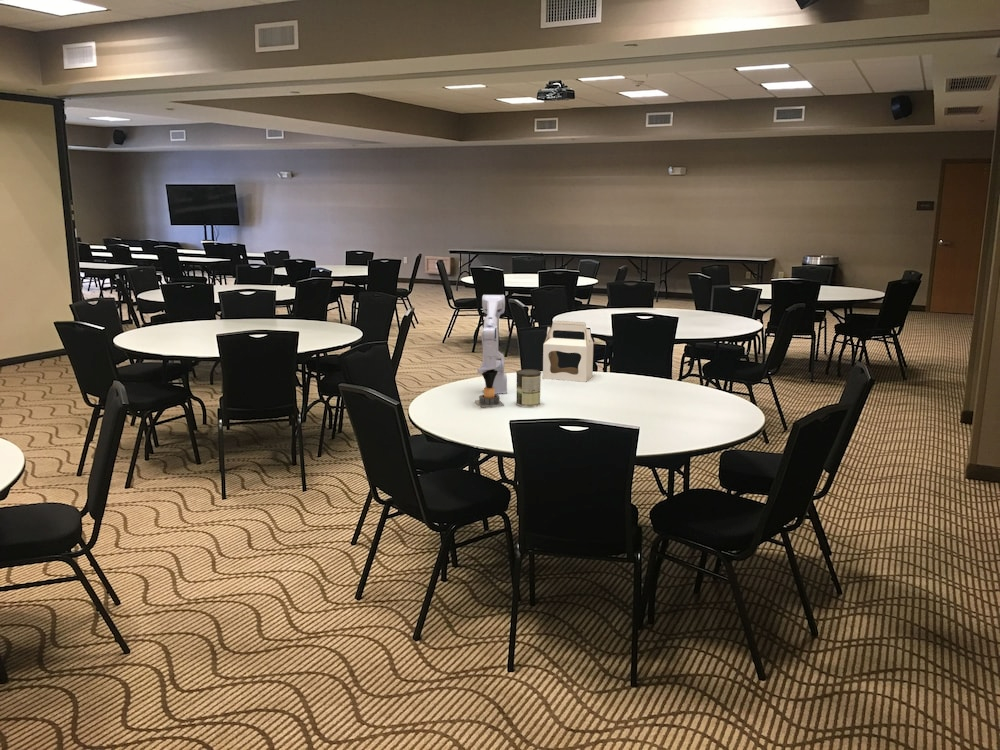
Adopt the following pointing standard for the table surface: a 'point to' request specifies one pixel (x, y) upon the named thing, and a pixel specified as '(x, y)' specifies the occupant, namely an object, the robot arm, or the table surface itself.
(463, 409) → the table surface
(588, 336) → the gable box
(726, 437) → the table surface
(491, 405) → the dark grey low piece
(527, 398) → the coffee can
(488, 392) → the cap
